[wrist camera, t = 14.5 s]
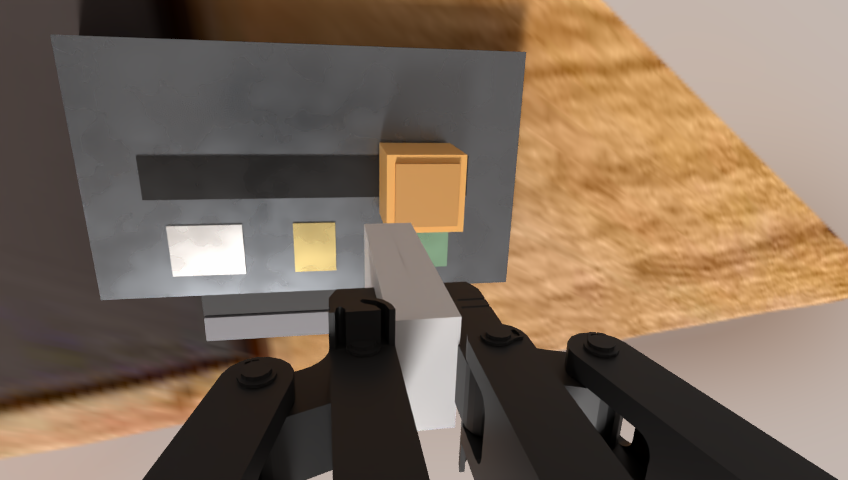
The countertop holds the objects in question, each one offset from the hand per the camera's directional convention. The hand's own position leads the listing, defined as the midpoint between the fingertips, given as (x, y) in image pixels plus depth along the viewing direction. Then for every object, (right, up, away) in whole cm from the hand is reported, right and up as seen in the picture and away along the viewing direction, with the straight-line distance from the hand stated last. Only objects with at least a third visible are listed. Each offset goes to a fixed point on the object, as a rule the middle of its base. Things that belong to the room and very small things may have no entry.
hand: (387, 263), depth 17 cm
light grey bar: (-6, -4, +18) cm, 20 cm away
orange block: (+1, +4, +13) cm, 13 cm away
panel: (-6, +5, +15) cm, 17 cm away
